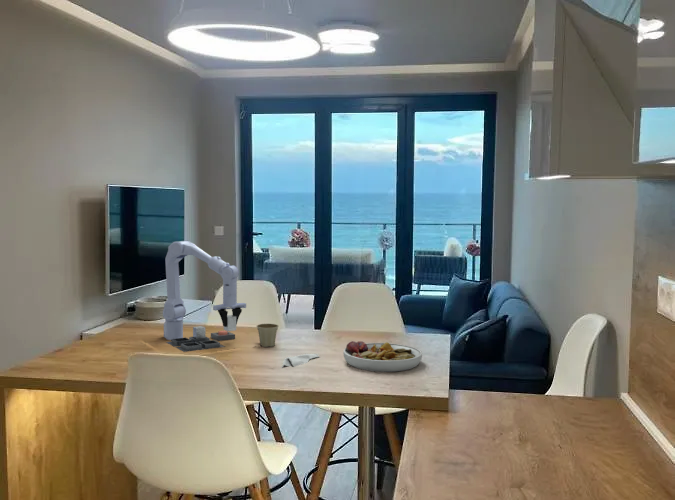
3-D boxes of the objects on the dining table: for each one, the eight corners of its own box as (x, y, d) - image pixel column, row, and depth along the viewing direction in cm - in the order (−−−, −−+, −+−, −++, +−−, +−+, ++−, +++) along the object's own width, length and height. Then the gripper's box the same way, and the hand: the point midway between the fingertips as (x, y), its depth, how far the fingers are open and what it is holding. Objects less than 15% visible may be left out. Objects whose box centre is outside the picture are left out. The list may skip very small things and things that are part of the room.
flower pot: (277, 348, 264) (277, 327, 264) (254, 347, 264) (254, 327, 264) (279, 343, 274) (279, 323, 273) (258, 343, 274) (258, 323, 273)
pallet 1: (165, 344, 268) (165, 338, 268) (205, 339, 278) (205, 334, 278) (174, 349, 260) (174, 343, 260) (214, 344, 270) (214, 338, 270)
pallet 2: (175, 349, 259) (175, 343, 259) (215, 344, 269) (215, 338, 269) (184, 354, 251) (184, 348, 251) (225, 349, 261) (225, 343, 261)
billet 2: (223, 329, 269) (223, 315, 268) (232, 328, 271) (232, 314, 271) (227, 331, 265) (227, 317, 265) (236, 330, 268) (236, 316, 267)
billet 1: (193, 340, 272) (193, 326, 271) (201, 339, 274) (201, 326, 274) (196, 342, 269) (196, 328, 268) (205, 341, 271) (205, 327, 270)
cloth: (309, 353, 258) (310, 348, 258) (334, 359, 249) (334, 353, 249) (262, 364, 239) (262, 359, 239) (287, 371, 230) (287, 365, 230)
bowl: (426, 358, 252) (427, 338, 251) (415, 377, 223) (416, 355, 222) (353, 352, 260) (354, 333, 259) (334, 370, 231) (334, 349, 230)
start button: (216, 336, 278) (216, 331, 278) (225, 335, 280) (225, 330, 280) (220, 338, 275) (220, 332, 275) (228, 337, 277) (228, 331, 277)
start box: (210, 339, 279) (210, 333, 279) (227, 337, 283) (227, 331, 283) (218, 343, 272) (218, 336, 272) (235, 341, 277) (235, 334, 277)
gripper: (218, 296, 260) (217, 329, 261) (249, 294, 268) (249, 325, 269) (211, 294, 266) (210, 326, 266) (242, 292, 274) (241, 323, 275)
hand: (229, 325), depth 268 cm, fingers closed on billet 2, 4 cm apart
